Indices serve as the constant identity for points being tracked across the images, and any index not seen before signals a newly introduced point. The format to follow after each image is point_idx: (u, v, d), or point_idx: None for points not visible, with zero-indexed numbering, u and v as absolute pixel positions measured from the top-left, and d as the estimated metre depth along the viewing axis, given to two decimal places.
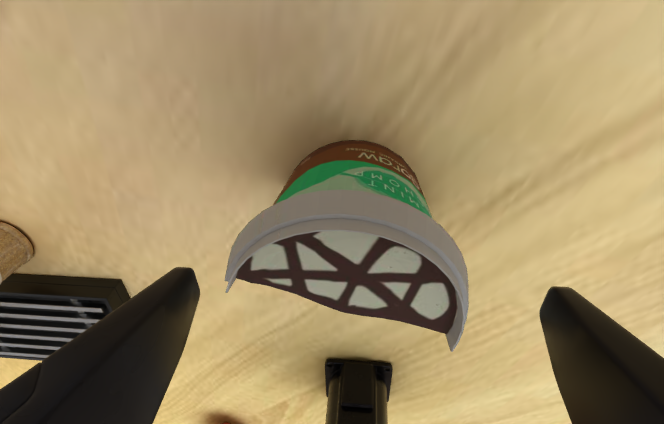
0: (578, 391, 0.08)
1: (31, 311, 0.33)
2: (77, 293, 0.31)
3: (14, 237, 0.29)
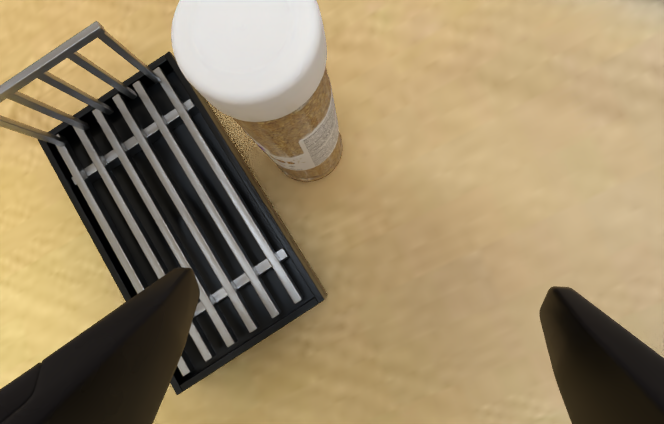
0: (578, 391, 0.08)
1: (216, 204, 0.22)
2: (299, 257, 0.21)
3: (336, 160, 0.23)
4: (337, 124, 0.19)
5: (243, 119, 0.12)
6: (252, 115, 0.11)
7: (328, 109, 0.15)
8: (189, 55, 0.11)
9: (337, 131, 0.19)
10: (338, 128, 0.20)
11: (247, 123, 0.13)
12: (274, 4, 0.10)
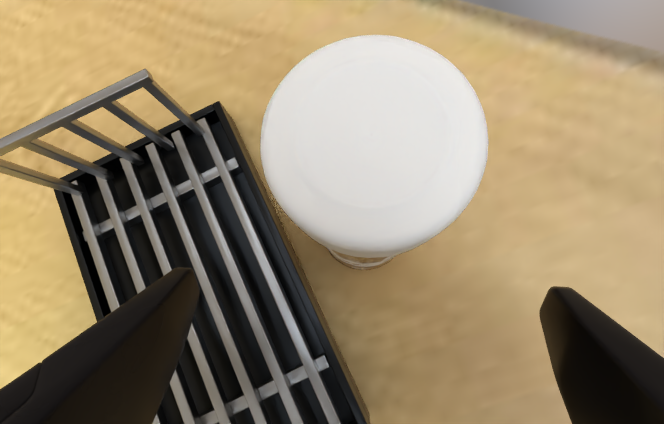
0: (578, 391, 0.08)
1: (249, 289, 0.18)
2: (343, 369, 0.17)
3: None
4: None
5: (340, 252, 0.08)
6: (359, 255, 0.08)
7: None
8: (286, 168, 0.07)
9: None
10: None
11: None
12: (422, 109, 0.07)
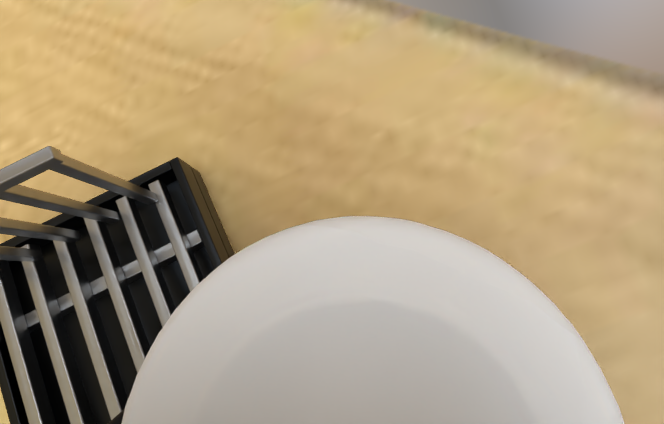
0: None
1: None
2: None
3: None
4: None
5: None
6: None
7: None
8: None
9: None
10: None
11: None
12: None
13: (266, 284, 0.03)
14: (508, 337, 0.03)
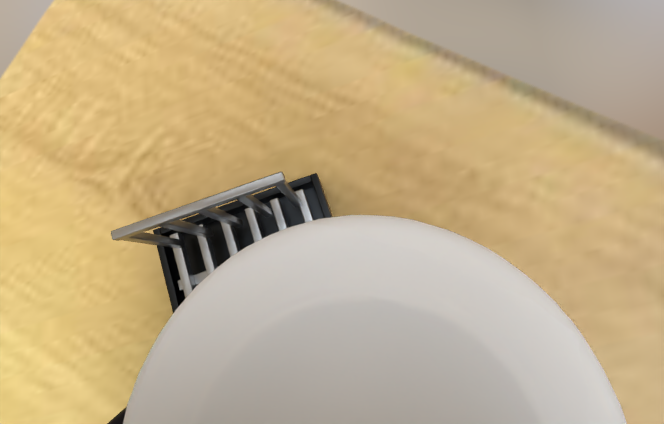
0: None
1: None
2: None
3: None
4: None
5: None
6: None
7: None
8: None
9: None
10: None
11: None
12: None
13: (268, 283, 0.03)
14: (510, 336, 0.03)
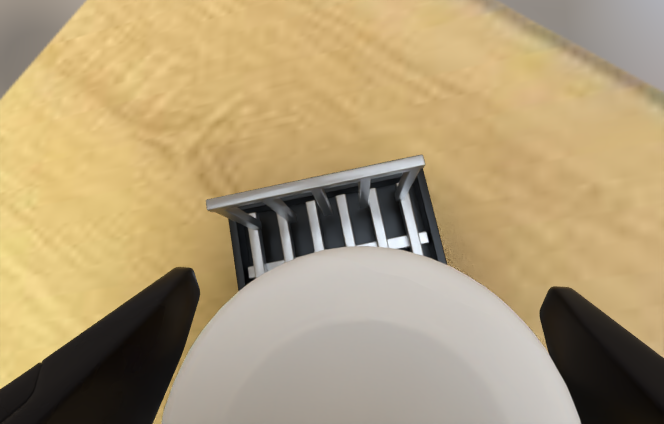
0: (578, 391, 0.08)
1: None
2: None
3: None
4: None
5: None
6: None
7: None
8: None
9: None
10: None
11: None
12: None
13: (282, 306, 0.04)
14: (483, 350, 0.04)
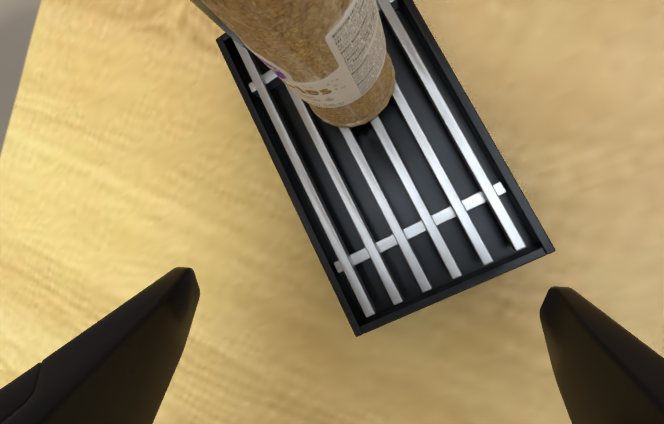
0: (578, 391, 0.08)
1: (417, 121, 0.18)
2: (522, 194, 0.17)
3: (389, 88, 0.17)
4: (381, 25, 0.13)
5: None
6: None
7: None
8: None
9: (383, 36, 0.14)
10: (384, 35, 0.14)
11: (232, 5, 0.08)
12: None
13: None
14: None
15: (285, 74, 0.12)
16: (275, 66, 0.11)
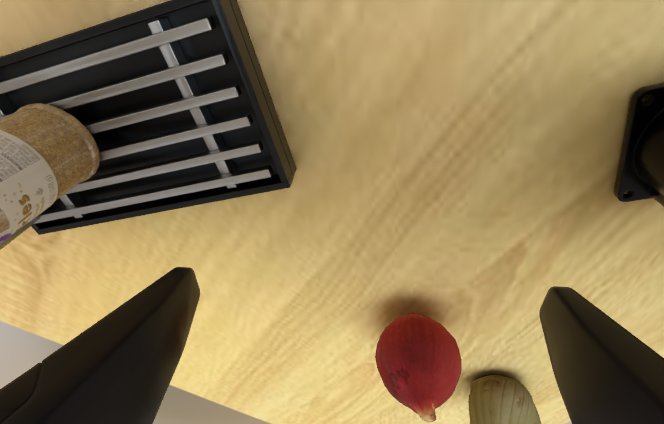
0: (578, 391, 0.08)
1: (93, 89, 0.19)
2: (159, 4, 0.16)
3: (54, 115, 0.18)
4: None
5: None
6: None
7: None
8: None
9: None
10: None
11: None
12: None
13: None
14: None
15: None
16: None
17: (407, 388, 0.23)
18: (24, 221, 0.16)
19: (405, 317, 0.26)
